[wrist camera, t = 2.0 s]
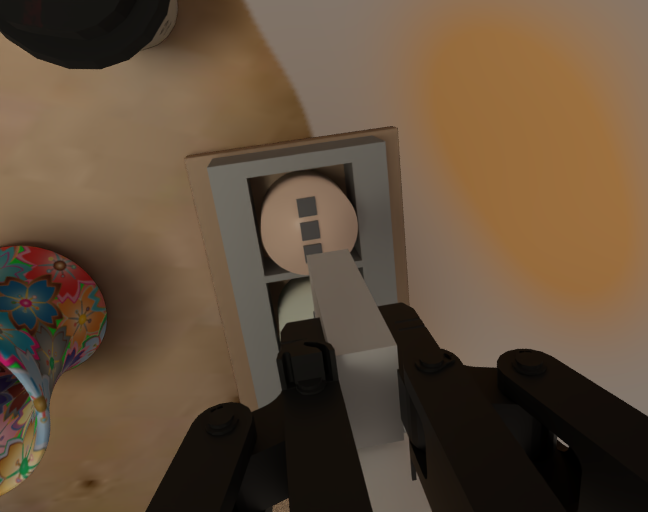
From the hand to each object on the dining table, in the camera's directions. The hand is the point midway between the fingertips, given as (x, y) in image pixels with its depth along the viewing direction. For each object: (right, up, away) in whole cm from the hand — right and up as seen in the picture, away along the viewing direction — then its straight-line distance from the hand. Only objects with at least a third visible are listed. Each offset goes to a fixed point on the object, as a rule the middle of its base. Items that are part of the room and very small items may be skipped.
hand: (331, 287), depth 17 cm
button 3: (-1, +3, +9) cm, 10 cm away
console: (-1, -1, +14) cm, 14 cm away
